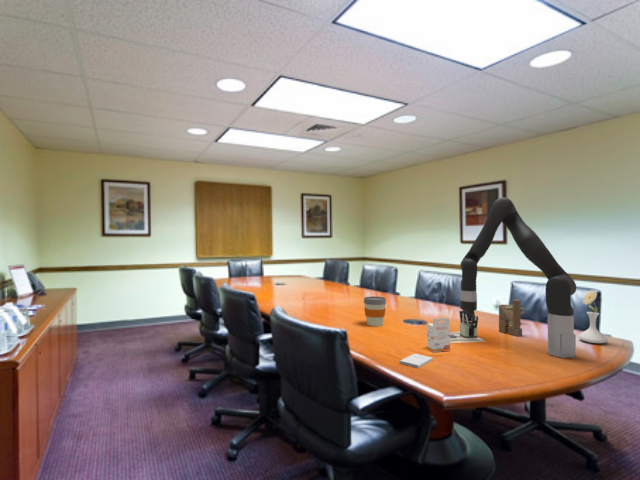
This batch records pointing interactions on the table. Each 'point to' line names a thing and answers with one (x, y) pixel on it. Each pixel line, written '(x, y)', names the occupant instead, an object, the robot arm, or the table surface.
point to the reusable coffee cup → (374, 310)
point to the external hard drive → (416, 360)
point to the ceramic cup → (511, 311)
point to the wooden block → (506, 316)
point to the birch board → (462, 339)
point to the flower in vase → (592, 322)
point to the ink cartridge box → (438, 335)
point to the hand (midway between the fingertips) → (468, 334)
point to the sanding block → (466, 331)
